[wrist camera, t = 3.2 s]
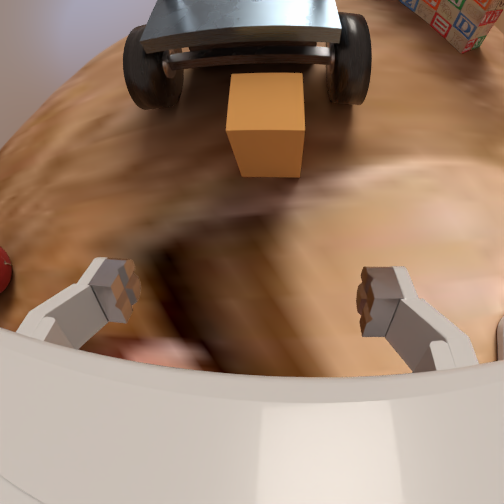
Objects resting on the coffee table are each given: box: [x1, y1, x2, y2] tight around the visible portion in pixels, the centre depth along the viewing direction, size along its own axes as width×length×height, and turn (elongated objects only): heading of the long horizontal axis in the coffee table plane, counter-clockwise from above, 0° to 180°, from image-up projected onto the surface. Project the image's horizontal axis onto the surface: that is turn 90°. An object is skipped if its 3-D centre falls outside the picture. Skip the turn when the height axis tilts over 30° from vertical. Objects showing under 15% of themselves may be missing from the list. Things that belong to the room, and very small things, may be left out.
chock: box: [226, 73, 305, 178], centre depth 23 cm, size 5×5×8 cm
